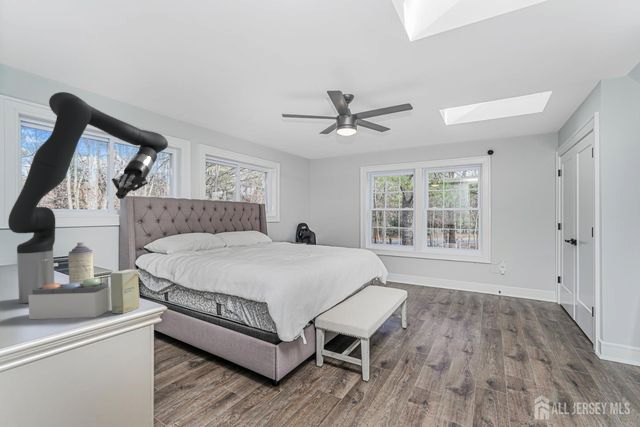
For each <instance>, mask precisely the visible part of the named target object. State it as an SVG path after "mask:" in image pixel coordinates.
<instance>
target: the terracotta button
mask: <svg viewBox="0 0 640 427" xmlns="http://www.w3.org/2000/svg"><path fill="white" fill-rule="evenodd" d="M60 284H61V283H59V282H54V283H53V284H47V285H43V286H42V289H53V288H56V287H60Z"/></svg>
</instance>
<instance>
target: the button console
mask: <svg viewBox="0 0 640 427" xmlns="http://www.w3.org/2000/svg"><path fill="white" fill-rule="evenodd" d="M64 284H65V283H63V284H61V283H60V287H56V288H53V289H42V287H40V288H37V289H33V290H32V293H33V294H31V295H28V297H29V303H28V316H29V317H28V319H29V320H47V319H49V320H50V319H82V318H85V319H86V318H97V317H99V316H101V315H103V314H105V313H107V312H109V311H112V308H111V286H109V282H100V285H99V286H96V287H91V288H83V284H80V286H78V287H75V288H63V285H64Z"/></svg>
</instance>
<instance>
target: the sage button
mask: <svg viewBox="0 0 640 427" xmlns="http://www.w3.org/2000/svg"><path fill="white" fill-rule="evenodd" d="M100 283H101V278H100V277H94V278H92V279H86V280H83V288H91V287H96V286H99V285H100Z"/></svg>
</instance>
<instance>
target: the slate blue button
mask: <svg viewBox="0 0 640 427" xmlns="http://www.w3.org/2000/svg"><path fill="white" fill-rule="evenodd" d="M63 284H64V285H63V288H75V287H78V286H80V283H69V282H68V283H66V284H65V283H63Z"/></svg>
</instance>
